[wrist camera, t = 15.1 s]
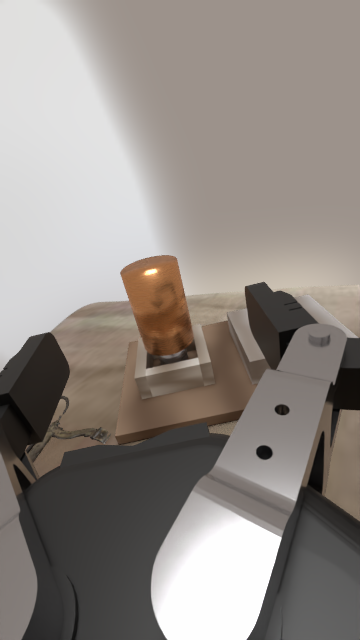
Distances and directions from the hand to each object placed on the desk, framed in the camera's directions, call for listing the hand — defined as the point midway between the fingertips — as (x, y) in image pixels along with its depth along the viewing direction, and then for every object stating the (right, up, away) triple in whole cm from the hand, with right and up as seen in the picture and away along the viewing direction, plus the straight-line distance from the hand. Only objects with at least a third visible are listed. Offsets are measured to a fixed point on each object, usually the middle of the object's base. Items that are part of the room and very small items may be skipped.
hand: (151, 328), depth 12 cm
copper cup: (+1, -5, +17) cm, 18 cm away
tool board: (+6, -4, +18) cm, 19 cm away
